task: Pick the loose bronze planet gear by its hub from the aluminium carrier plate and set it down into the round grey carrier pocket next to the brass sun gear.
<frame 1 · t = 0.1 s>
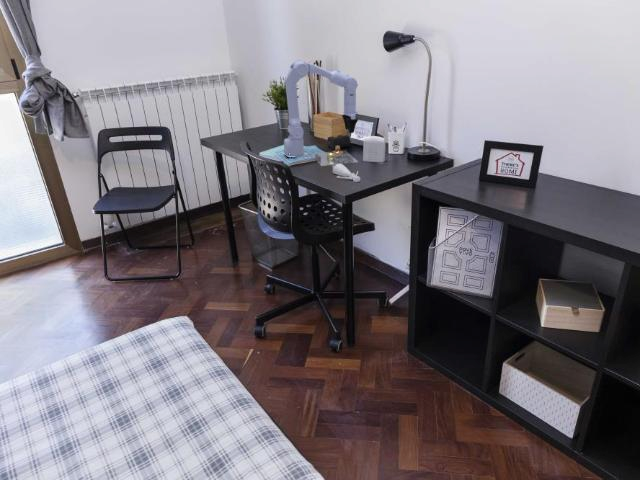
hand: (349, 130, 239), 10 cm above the table, tool pointing down, fingers open, 7 cm apart
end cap: (338, 149, 247), on the table
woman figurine: (346, 177, 208), on the table
planet gear: (337, 154, 235), point 1 cm above the table, touching carrier
carrier: (331, 160, 230), on the table
photo printer: (373, 162, 225), on the table
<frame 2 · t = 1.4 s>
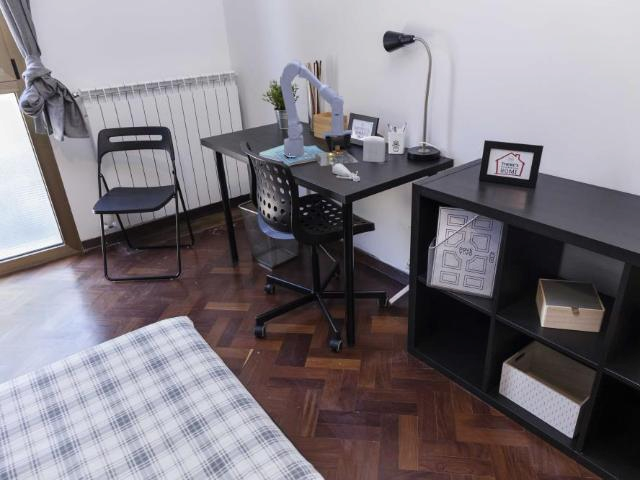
hand: (337, 150, 234), 3 cm above the table, tool pointing down, fingers open, 7 cm apart
nothing on the table moved.
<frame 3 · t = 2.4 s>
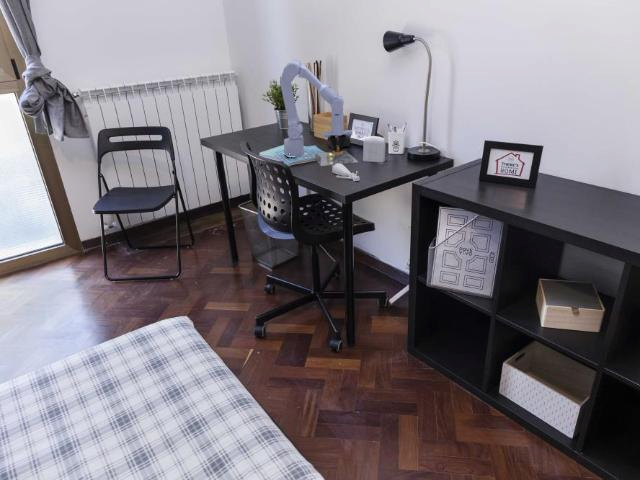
hand: (337, 150, 234), 3 cm above the table, tool pointing down, fingers closed on planet gear, 2 cm apart
planet gear: (337, 154, 235), point 1 cm above the table, touching carrier, gripper
everything else where it was.
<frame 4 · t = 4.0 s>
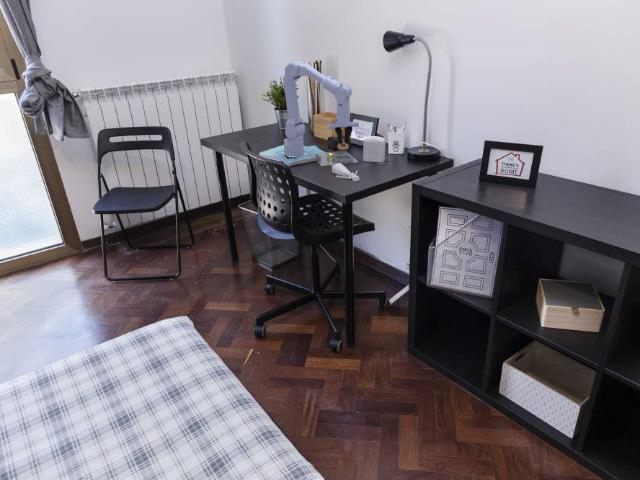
hand: (343, 143, 222), 9 cm above the table, tool pointing down, fingers closed on planet gear, 2 cm apart
planet gear: (343, 147, 224), point 7 cm above the table, touching gripper
everything else where it was.
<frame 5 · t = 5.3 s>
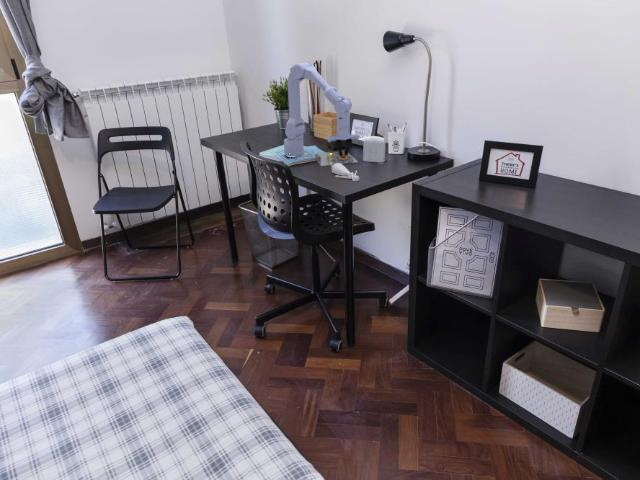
hand: (343, 155, 225), 3 cm above the table, tool pointing down, fingers closed on planet gear, 2 cm apart
planet gear: (343, 159, 226), point 1 cm above the table, touching carrier, gripper
everything else where it was.
when the fingers open (3 cm above the table, at t = 5.6 s): planet gear stays where it is, resting on carrier.
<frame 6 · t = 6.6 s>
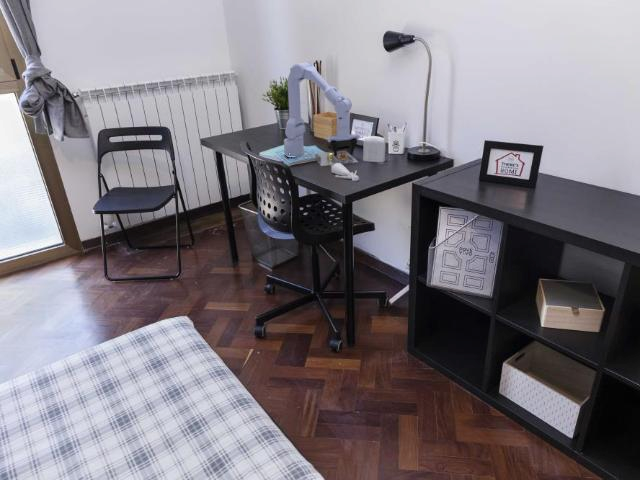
hand: (343, 155, 225), 3 cm above the table, tool pointing down, fingers open, 7 cm apart
planet gear: (343, 159, 226), point 1 cm above the table, touching carrier
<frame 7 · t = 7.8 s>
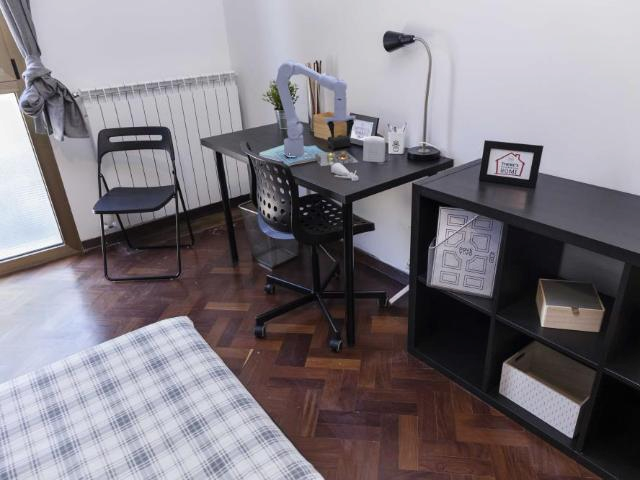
hand: (340, 136, 230), 10 cm above the table, tool pointing down, fingers open, 7 cm apart
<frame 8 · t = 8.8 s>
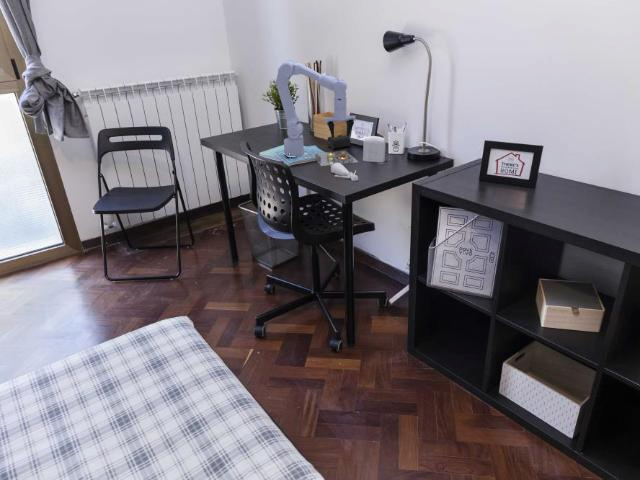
hand: (340, 136, 230), 10 cm above the table, tool pointing down, fingers open, 7 cm apart
at the end: planet gear 0.5 cm from the target spot on the carrier, point 1.0 cm above the carrier's base; planet gear tilted 0°; the gripper is holding nothing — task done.
